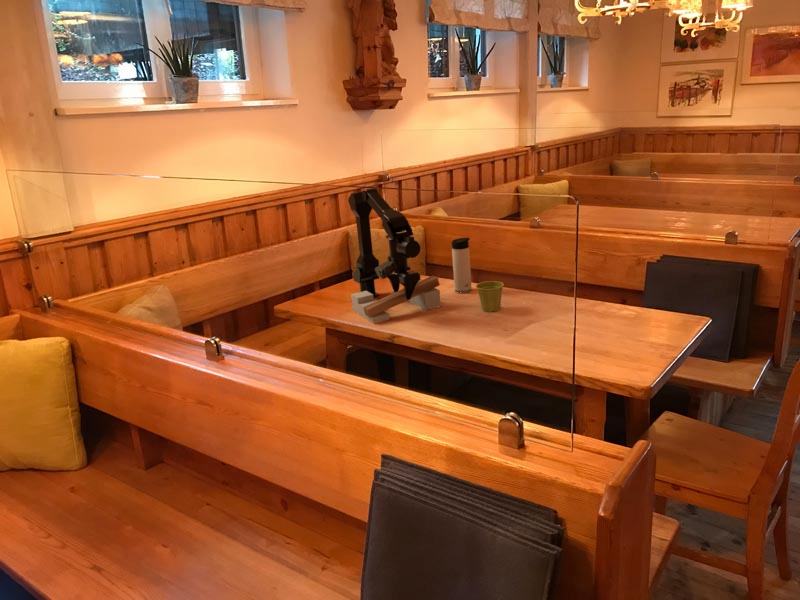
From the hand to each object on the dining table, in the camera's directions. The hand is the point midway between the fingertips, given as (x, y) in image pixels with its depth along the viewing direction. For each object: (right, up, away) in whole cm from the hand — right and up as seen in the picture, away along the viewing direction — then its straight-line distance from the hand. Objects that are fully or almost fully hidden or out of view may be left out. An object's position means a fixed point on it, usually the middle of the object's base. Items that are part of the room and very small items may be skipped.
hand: (402, 296), depth 232 cm
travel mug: (+23, +2, +19) cm, 30 cm away
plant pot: (+30, -5, -3) cm, 30 cm away
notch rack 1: (-11, -6, +3) cm, 13 cm away
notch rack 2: (+7, -2, +11) cm, 13 cm away
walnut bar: (0, -1, 0) cm, 1 cm away
